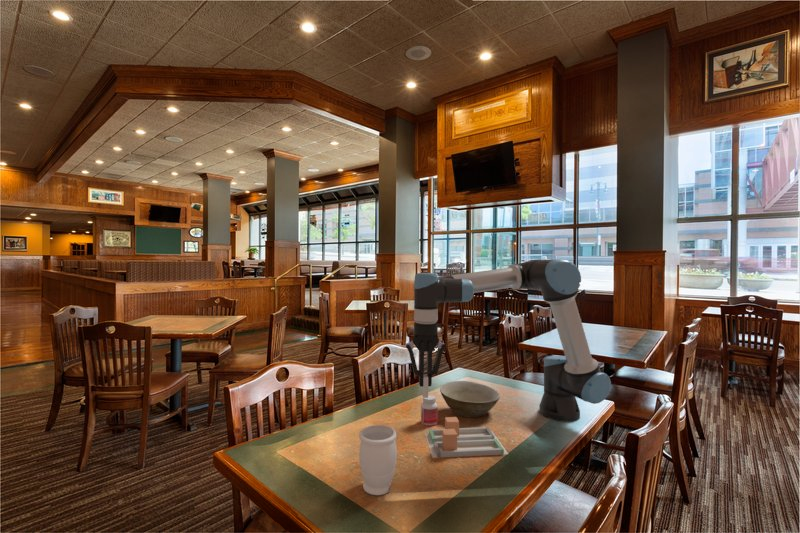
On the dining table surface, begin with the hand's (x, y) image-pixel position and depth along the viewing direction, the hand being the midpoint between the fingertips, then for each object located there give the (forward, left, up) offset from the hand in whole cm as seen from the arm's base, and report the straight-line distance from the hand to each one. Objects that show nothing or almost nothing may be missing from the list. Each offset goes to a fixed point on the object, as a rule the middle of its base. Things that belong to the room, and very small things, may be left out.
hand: (425, 396), depth 121 cm
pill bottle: (-5, -21, -19) cm, 29 cm away
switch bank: (-14, -4, -19) cm, 24 cm away
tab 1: (-11, -9, -18) cm, 22 cm away
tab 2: (-8, 0, -18) cm, 19 cm away
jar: (+15, +15, -19) cm, 29 cm away
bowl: (-23, -31, -20) cm, 43 cm away
